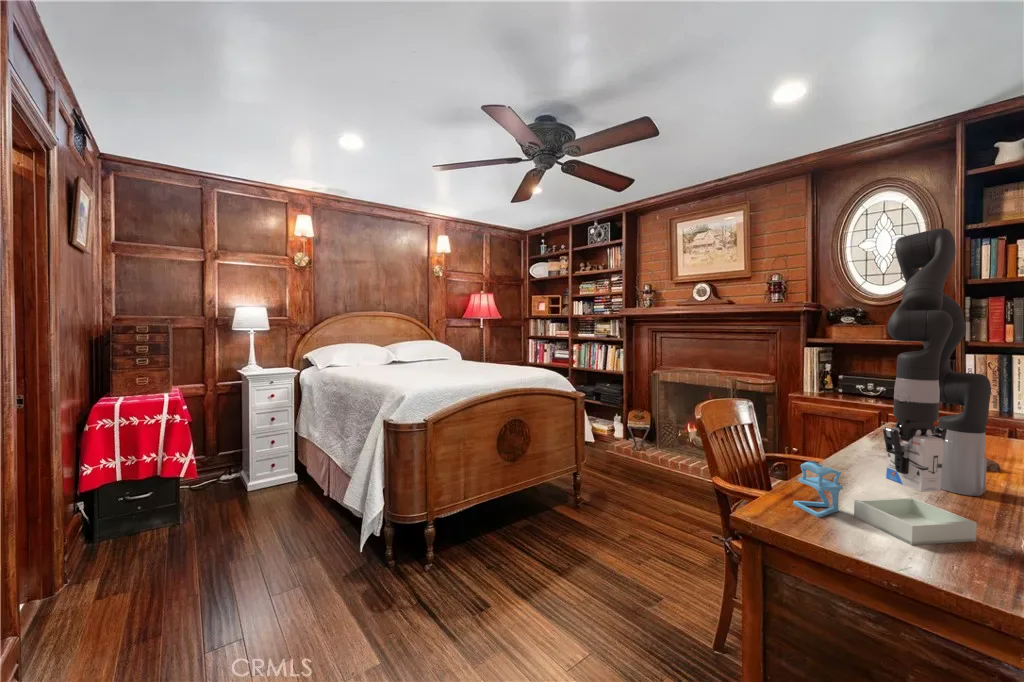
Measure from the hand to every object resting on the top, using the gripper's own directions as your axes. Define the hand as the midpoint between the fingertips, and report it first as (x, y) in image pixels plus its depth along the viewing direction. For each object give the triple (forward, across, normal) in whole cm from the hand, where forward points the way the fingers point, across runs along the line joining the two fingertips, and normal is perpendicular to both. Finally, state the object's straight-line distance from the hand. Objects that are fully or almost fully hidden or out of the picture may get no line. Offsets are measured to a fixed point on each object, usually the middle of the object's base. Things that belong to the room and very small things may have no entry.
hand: (913, 472), depth 99 cm
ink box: (+3, 0, 0) cm, 3 cm away
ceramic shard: (+13, -62, -40) cm, 75 cm away
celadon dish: (+13, 0, 0) cm, 13 cm away
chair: (+13, +13, -11) cm, 22 cm away
